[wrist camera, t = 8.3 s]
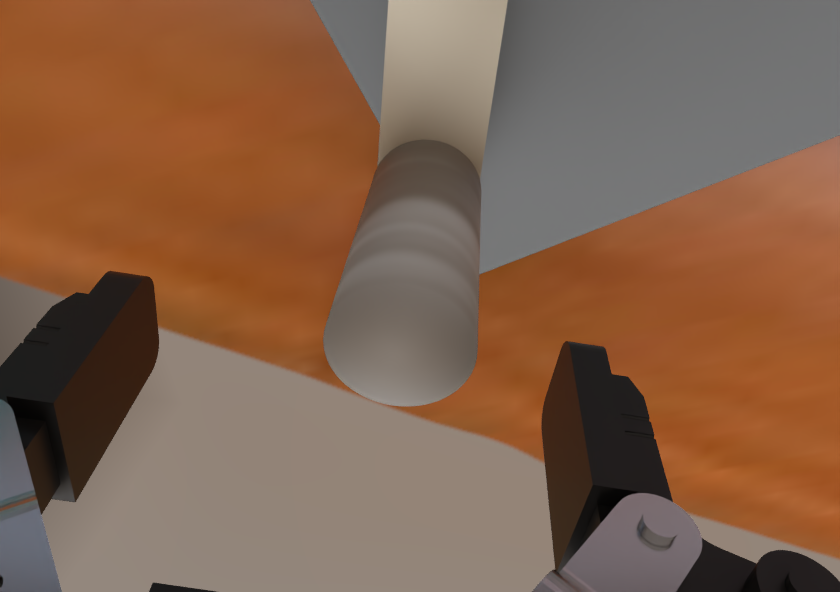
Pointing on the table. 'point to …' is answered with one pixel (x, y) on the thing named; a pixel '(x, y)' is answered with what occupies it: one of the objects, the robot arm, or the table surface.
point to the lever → (421, 210)
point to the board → (626, 103)
